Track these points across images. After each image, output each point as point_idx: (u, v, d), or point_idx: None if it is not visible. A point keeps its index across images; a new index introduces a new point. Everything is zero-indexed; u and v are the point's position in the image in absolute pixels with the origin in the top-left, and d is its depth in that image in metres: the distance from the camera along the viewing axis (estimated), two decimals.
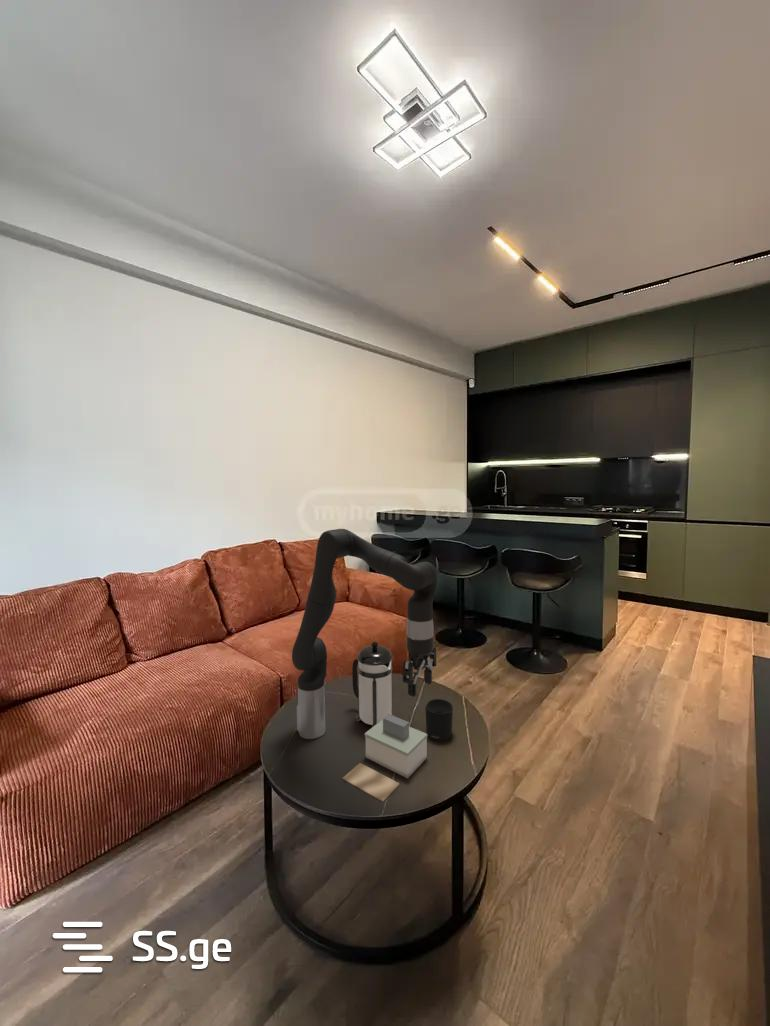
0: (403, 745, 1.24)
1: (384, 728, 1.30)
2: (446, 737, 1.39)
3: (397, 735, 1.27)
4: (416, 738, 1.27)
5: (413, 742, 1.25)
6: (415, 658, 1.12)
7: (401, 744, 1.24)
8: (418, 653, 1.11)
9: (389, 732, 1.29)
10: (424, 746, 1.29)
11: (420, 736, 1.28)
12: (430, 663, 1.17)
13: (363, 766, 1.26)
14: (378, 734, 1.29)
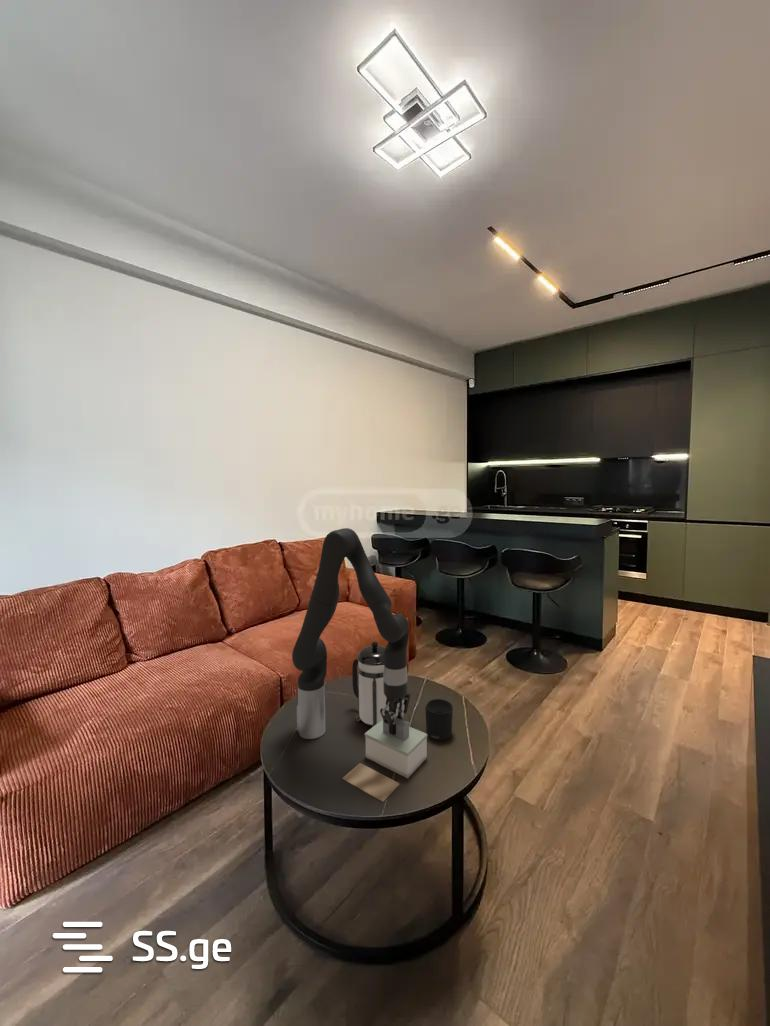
0: (403, 745, 1.24)
1: (384, 728, 1.30)
2: (446, 737, 1.39)
3: (397, 735, 1.27)
4: (416, 738, 1.27)
5: (413, 742, 1.25)
6: (390, 703, 1.25)
7: (401, 744, 1.24)
8: (393, 697, 1.25)
9: None
10: (424, 746, 1.29)
11: (420, 736, 1.28)
12: (403, 707, 1.29)
13: (363, 766, 1.26)
14: (378, 734, 1.29)
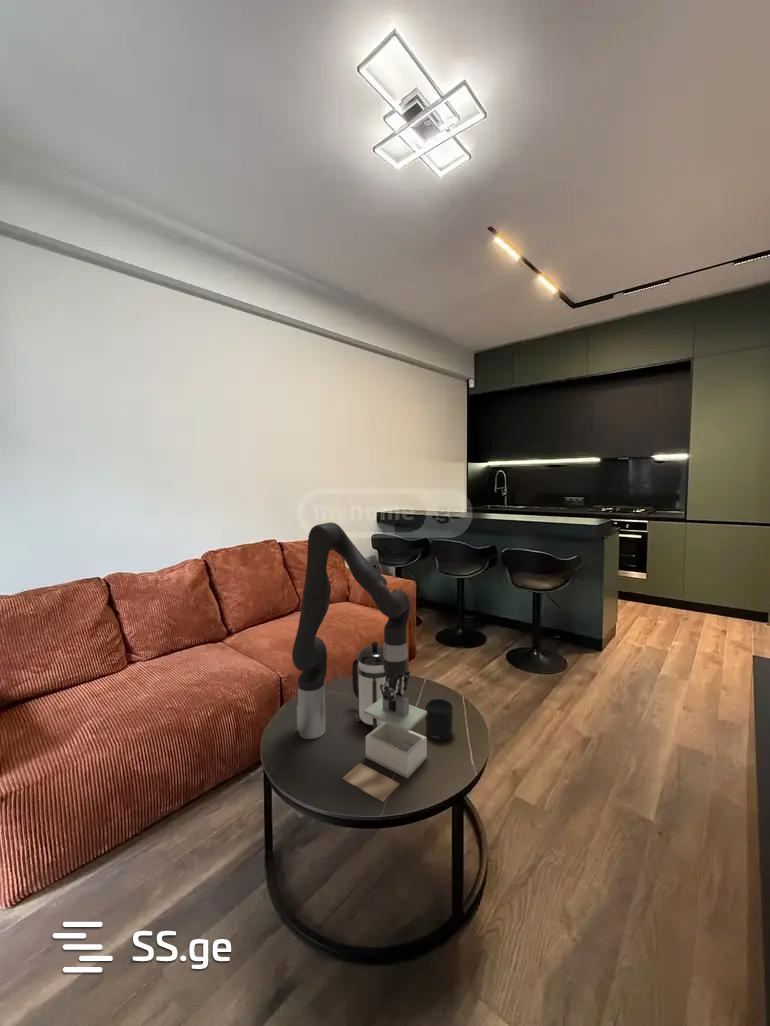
0: (403, 721, 1.23)
1: (384, 705, 1.30)
2: (446, 737, 1.39)
3: (397, 712, 1.27)
4: (416, 714, 1.27)
5: (413, 718, 1.25)
6: (389, 680, 1.24)
7: (401, 720, 1.24)
8: (393, 673, 1.24)
9: None
10: (424, 746, 1.29)
11: (420, 713, 1.28)
12: (402, 684, 1.29)
13: (363, 766, 1.26)
14: (378, 711, 1.29)
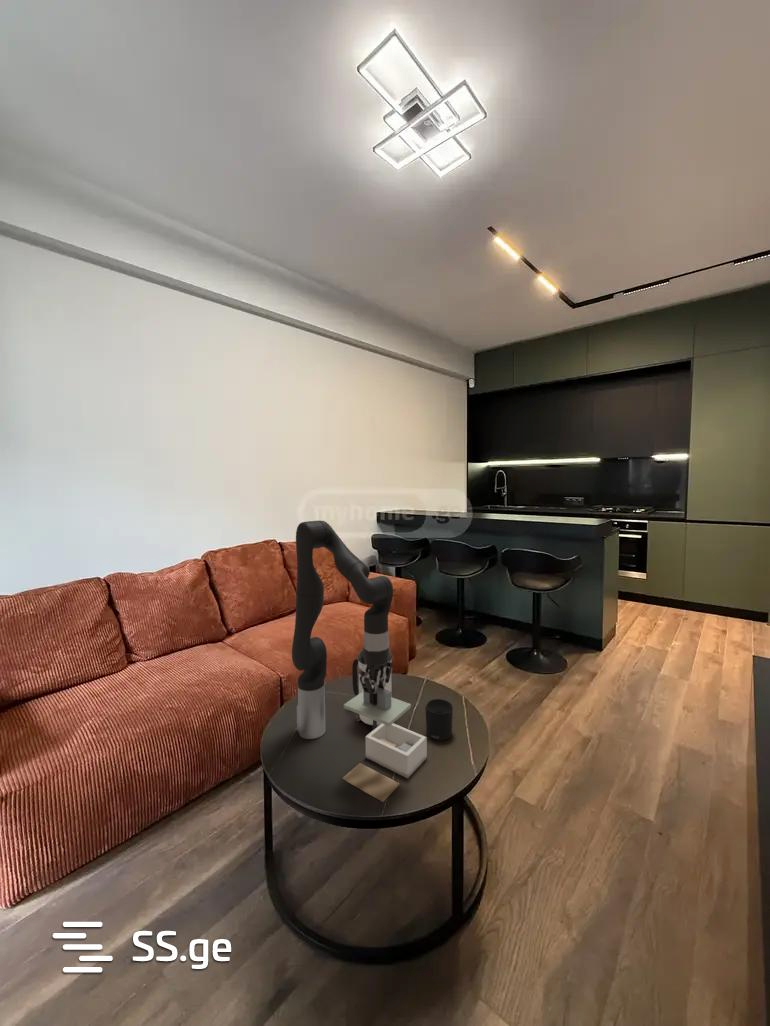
0: (385, 715, 1.15)
1: (365, 699, 1.21)
2: (446, 737, 1.39)
3: (378, 705, 1.19)
4: (399, 708, 1.19)
5: (395, 712, 1.17)
6: (370, 671, 1.16)
7: (382, 714, 1.16)
8: (373, 664, 1.16)
9: None
10: (424, 746, 1.29)
11: (403, 706, 1.19)
12: (384, 676, 1.21)
13: (363, 766, 1.26)
14: (358, 705, 1.20)
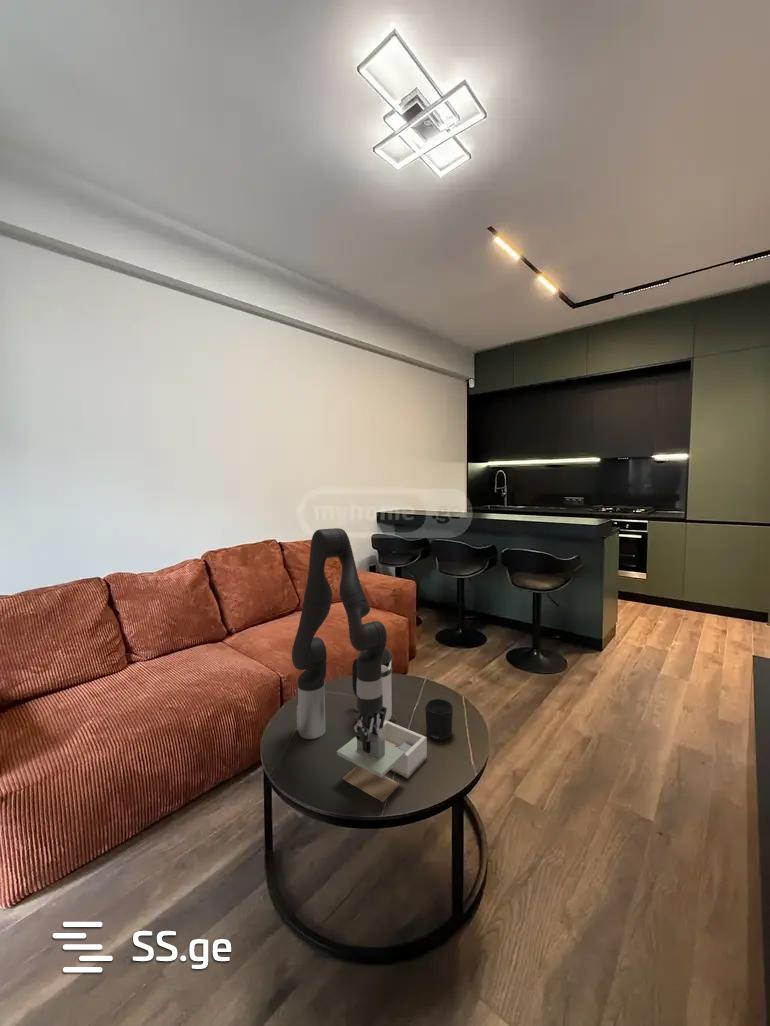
0: (377, 764, 1.13)
1: (358, 745, 1.20)
2: (446, 737, 1.39)
3: (372, 753, 1.17)
4: (393, 756, 1.17)
5: (389, 761, 1.15)
6: (363, 719, 1.14)
7: (375, 763, 1.14)
8: (366, 712, 1.14)
9: None
10: (424, 746, 1.29)
11: (397, 754, 1.18)
12: (378, 723, 1.19)
13: None
14: (351, 752, 1.19)
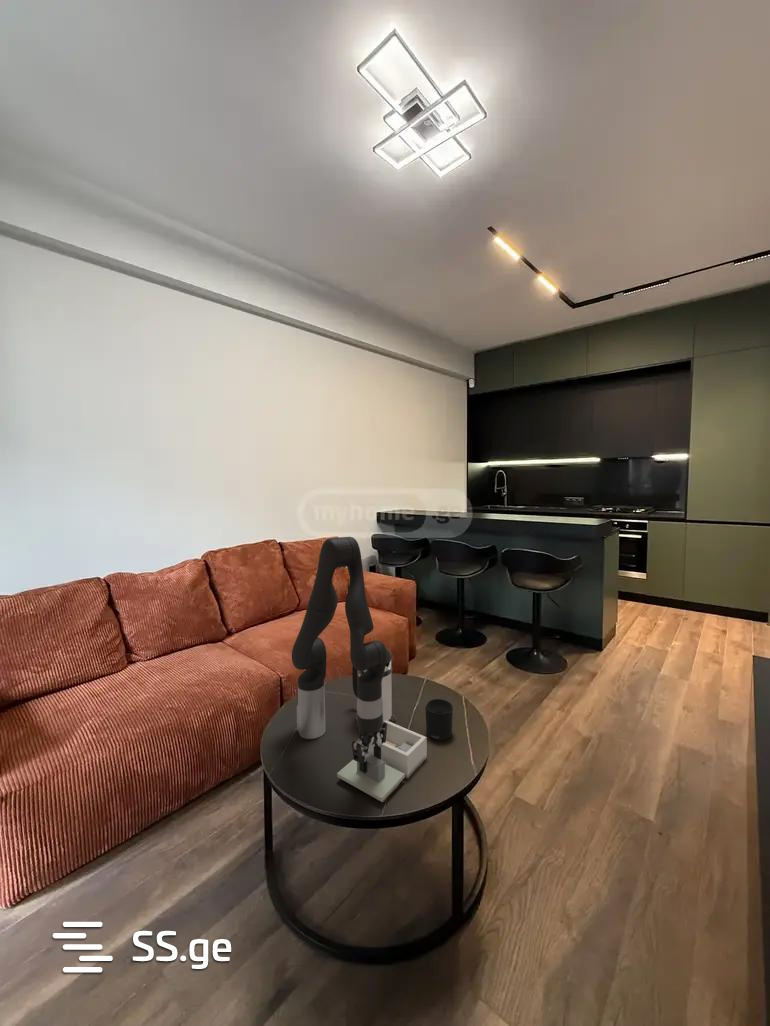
0: (377, 788, 1.14)
1: (358, 767, 1.20)
2: (446, 737, 1.39)
3: (372, 776, 1.17)
4: (392, 779, 1.17)
5: (389, 784, 1.15)
6: (363, 737, 1.15)
7: (375, 787, 1.14)
8: (366, 731, 1.15)
9: None
10: (424, 746, 1.29)
11: (397, 776, 1.18)
12: (379, 739, 1.20)
13: None
14: (351, 774, 1.19)
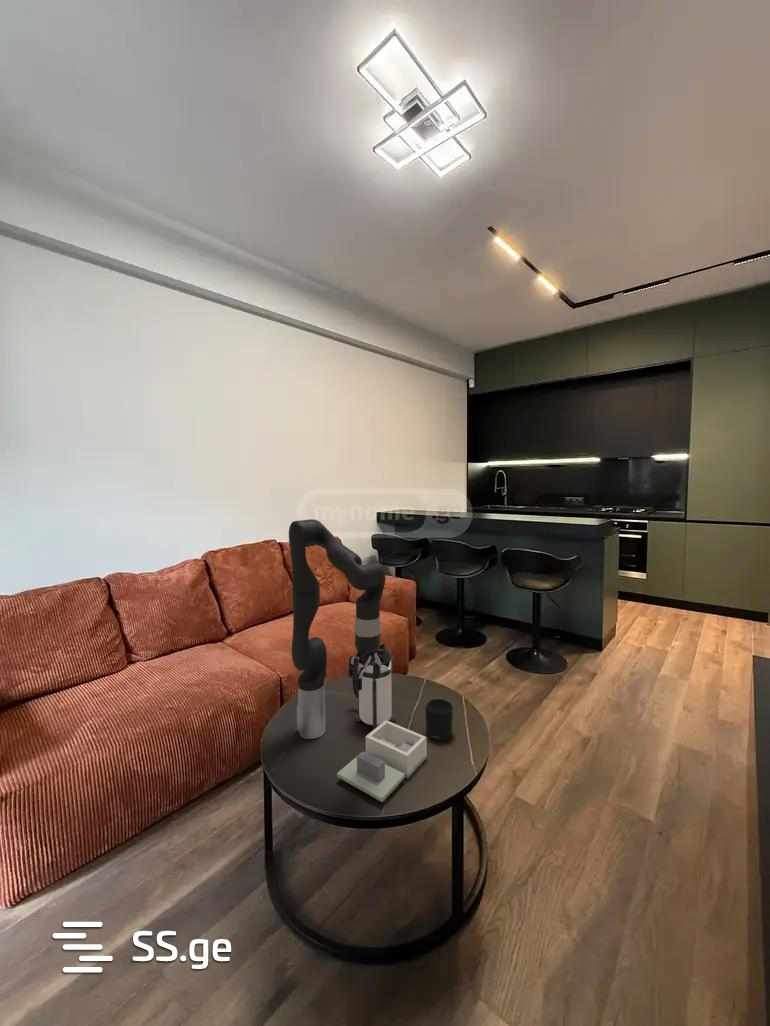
0: (377, 788, 1.14)
1: (358, 767, 1.20)
2: (446, 737, 1.39)
3: (372, 776, 1.17)
4: (392, 779, 1.17)
5: (389, 784, 1.15)
6: (361, 654, 1.18)
7: (375, 787, 1.14)
8: (364, 649, 1.17)
9: (363, 772, 1.19)
10: (424, 746, 1.29)
11: (397, 776, 1.18)
12: (378, 659, 1.23)
13: None
14: (351, 774, 1.19)
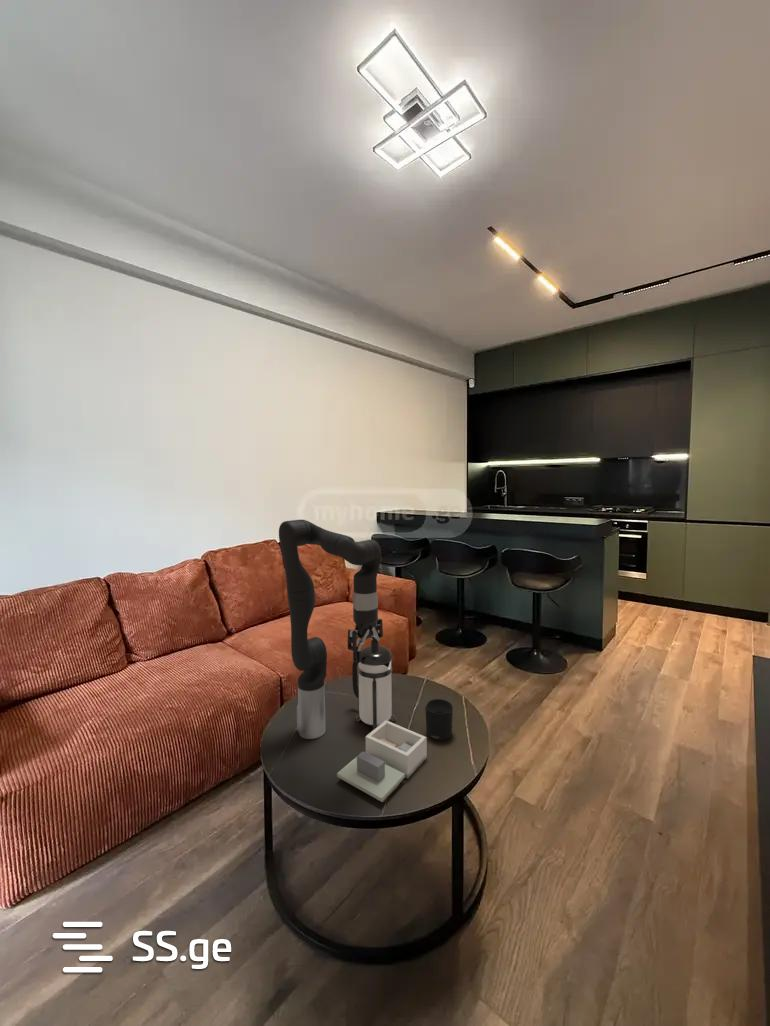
0: (377, 788, 1.14)
1: (358, 767, 1.20)
2: (446, 737, 1.39)
3: (372, 776, 1.17)
4: (392, 779, 1.17)
5: (389, 784, 1.15)
6: (359, 627, 1.21)
7: (375, 787, 1.14)
8: (362, 623, 1.21)
9: (363, 772, 1.19)
10: (424, 746, 1.29)
11: (397, 776, 1.18)
12: (375, 633, 1.26)
13: None
14: (351, 774, 1.19)
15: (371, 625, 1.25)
